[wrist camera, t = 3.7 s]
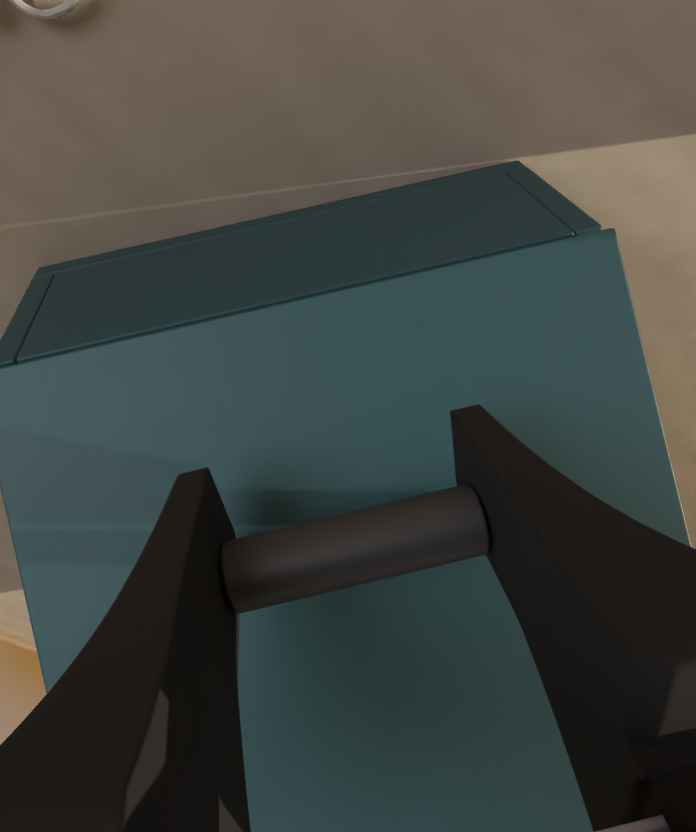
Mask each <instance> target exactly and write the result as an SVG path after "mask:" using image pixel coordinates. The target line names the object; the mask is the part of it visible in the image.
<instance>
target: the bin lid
mask: <svg viewBox="0 0 696 832" xmlns="http://www.w3.org/2000/svg"><path fill="white" fill-rule="evenodd" d="M477 404H479V405H481V406H483V407H484V408H485V409H486V410H487V411H488V412H489V413H490V414H492V415H493V416H494V417H495V418H496V419H497V420H498V421H499V422H500V423H501V424H502V425H504V426H505V427H506V428H507V429H508V430H509V431H510V432H511V433H513V434H514V435H515V436H516V437H517V438H518V439H520V440H521V441H522V442H523V443H524V444H526V445H527V446H528V447H529V448H530V449H532V450H533V451H534V452H535V453H537V454H538V455H539V456H540V457H542V458H543V459H544V460H546V461H547V462H548V463H549V464H551V465H552V466H553V467H554V468H556V469H557V470H559V471H560V472H561V473H563V474H564V475H565V476H567V477H568V478H570V479H571V480H572V481H574V482H575V483H577V484H578V485H580V486H581V487H582V488H584V489H585V490H587V491H588V492H590V493H591V494H593V495H594V496H596V497H598V498H599V499H601V500H602V501H604V502H605V503H607V504H609V505H610V506H612V507H614V508H616V509H617V510H619V511H621V512H622V513H624V514H626V515H627V516H629V517H631V518H633V519H635V520H637V521H638V522H640V523H642V524H644V525H646V526H648V527H650V528H652V529H654V530H656V531H658V532H660V533H662V534H664V535H666V536H668V537H671V538H673V539H675V540H677V541H679V542H681V543H683V544H685V545H687V546H690V547H692V546H691V541H690V537H689V533H688V529H687V525H686V521H685V517H684V513H683V508H682V504H681V500H680V496H679V492H678V488H677V484H676V480H675V475H674V471H673V467H672V463H671V459H670V455H669V451H668V447H667V443H666V438H665V434H664V430H663V426H662V422H661V418H660V414H659V410H658V405H657V401H656V397H655V393H654V389H653V385H652V381H651V377H650V372H649V368H648V364H647V360H646V356H645V352H644V348H643V344H642V340H641V335H640V331H639V327H638V323H637V319H636V315H635V311H634V307H633V302H632V298H631V294H630V290H629V286H628V282H627V278H626V274H625V269H624V265H623V261H622V257H621V253H620V249H619V245H618V241H617V236H616V232H615V229H613V228H610V229H606V230H601V231H597V232H593V233H588V234H584V235H580V236H575V237H571V238H566V239H562V240H558V241H553V242H549V243H544V244H540V245H536V246H531V247H527V248H523V249H518V250H514V251H509V252H505V253H501V254H496V255H492V256H488V257H483V258H479V259H474V260H470V261H466V262H461V263H457V264H452V265H448V266H444V267H439V268H435V269H431V270H426V271H422V272H417V273H413V274H409V275H404V276H400V277H395V278H391V279H387V280H382V281H378V282H374V283H369V284H365V285H360V286H356V287H352V288H347V289H343V290H339V291H334V292H330V293H325V294H321V295H317V296H312V297H308V298H303V299H299V300H295V301H290V302H286V303H282V304H277V305H273V306H268V307H264V308H260V309H255V310H251V311H246V312H242V313H238V314H233V315H229V316H225V317H220V318H216V319H211V320H207V321H203V322H198V323H194V324H189V325H185V326H181V327H176V328H172V329H168V330H163V331H159V332H154V333H150V334H146V335H141V336H137V337H133V338H128V339H124V340H119V341H115V342H111V343H106V344H102V345H97V346H93V347H89V348H84V349H80V350H76V351H71V352H67V353H62V354H58V355H54V356H49V357H45V358H40V359H36V360H32V361H27V362H23V363H19V364H14V365H10V366H5V367H1V368H0V486H1V490H2V495H3V499H4V504H5V508H6V513H7V517H8V522H9V526H10V531H11V535H12V540H13V544H14V549H15V553H16V558H17V562H18V567H19V571H20V576H21V580H22V585H23V589H24V594H25V598H26V603H27V607H28V612H29V616H30V621H31V625H32V630H33V634H34V639H35V643H36V648H37V652H38V656H39V661H40V666H41V670H42V675H43V679H44V683H45V687H46V693H48V692H49V691H50V690H51V689H52V687H53V686H54V685H55V684H56V682H57V681H58V680H59V679H60V677H61V676H62V675H63V673H64V672H65V671H66V670H67V668H68V667H69V666H70V664H71V663H72V662H73V660H74V659H75V658H76V656H77V655H78V654H79V652H80V651H81V650H82V648H83V647H84V646H85V644H86V643H87V642H88V640H89V639H90V637H91V636H92V634H93V633H94V632H95V630H96V629H97V627H98V626H99V624H100V623H101V621H102V620H103V618H104V617H105V615H106V614H107V612H108V610H109V609H110V607H111V606H112V604H113V602H114V601H115V599H116V597H117V596H118V594H119V592H120V591H121V589H122V587H123V585H124V584H125V582H126V580H127V578H128V576H129V575H130V573H131V571H132V569H133V568H134V566H135V564H136V562H137V560H138V558H139V557H140V555H141V553H142V551H143V549H144V547H145V545H146V543H147V541H148V539H149V537H150V535H151V533H152V531H153V529H154V526H155V524H156V522H157V520H158V518H159V516H160V514H161V511H162V509H163V507H164V505H165V502H166V500H167V498H168V496H169V493H170V491H171V489H172V486H173V484H174V482H175V479H176V478H177V476H178V475H179V474H181V473H186V472H190V471H194V470H198V469H203V468H207V467H208V468H209V470H210V473H211V475H212V478H213V480H214V482H215V485H216V487H217V490H218V492H219V494H220V497H221V499H222V502H223V504H224V507H225V509H226V511H227V514H228V516H229V519H230V521H231V523H232V526H233V528H234V531H235V533H236V539H231V540H227V541H225V542H224V543H222V545H221V550H220V567H221V575H222V581H223V585H224V589H225V593H226V596H227V599H228V602H229V604H230V606H231V608H232V609H233V611H234V612H235V613H240V622H239V665H238V692H239V710H240V723H241V736H242V748H243V759H244V770H245V780H246V791H247V801H248V810H249V819H250V828H251V832H593V829H592V825H591V822H590V819H589V816H588V813H587V810H586V807H585V804H584V801H583V798H582V795H581V792H580V789H579V786H578V783H577V780H576V777H575V774H574V771H573V768H572V765H571V762H570V760H569V757H568V754H567V751H566V748H565V745H564V742H563V739H562V736H561V734H560V731H559V728H558V725H557V722H556V719H555V716H554V714H553V711H552V708H551V705H550V703H549V700H548V697H547V694H546V692H545V689H544V686H543V683H542V681H541V678H540V675H539V672H538V670H537V667H536V664H535V662H534V659H533V656H532V654H531V651H530V649H529V646H528V643H527V641H526V638H525V635H524V633H523V630H522V628H521V626H520V623H519V621H518V619H517V617H516V614H515V612H514V610H513V608H512V606H511V604H510V602H509V600H508V598H507V596H506V594H505V592H504V590H503V588H502V586H501V584H500V582H499V580H498V578H497V576H496V574H495V572H494V570H493V568H492V566H491V564H490V562H489V560H488V558H487V556H486V554H487V553H489V551H490V534H489V528H488V524H487V520H486V516H485V512H484V509H483V506H482V503H481V501H480V498H479V496H478V494H477V492H476V490H475V489H474V488H473V486H472V485H470V484H464V485H460V486H457V483H456V475H455V463H454V451H453V440H452V428H451V416H450V411H452V410H456V409H460V408H465V407H469V406H473V405H477Z"/></svg>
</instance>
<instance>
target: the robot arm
mask: <svg viewBox="0 0 696 832" xmlns="http://www.w3.org/2000/svg"><path fill="white" fill-rule="evenodd" d="M450 416H451V428H452V440H453V451H454V463H455V475H456V483H457V486H460V485H464V484H470V485H472V486H473V488H474V489H475V490H476V492H477V494H478V496H479V498H480V501H481V503H482V506H483V509H484V512H485V516H486V520H487V524H488V528H489V534H490V551H489V553H487V554H486V556H487V558H488V560H489V562H490V564H491V566H492V568H493V570H494V572H495V574H496V576H497V578H498V580H499V582H500V584H501V586H502V588H503V590H504V592H505V594H506V596H507V598H508V600H509V602H510V604H511V606H512V608H513V610H514V612H515V614H516V617H517V619H518V621H519V623H520V626H521V628H522V630H523V633H524V635H525V638H526V641H527V643H528V646H529V649H530V651H531V654H532V656H533V659H534V662H535V664H536V667H537V670H538V672H539V675H540V678H541V681H542V683H543V686H544V689H545V692H546V694H547V697H548V700H549V703H550V705H551V708H552V711H553V714H554V716H555V719H556V722H557V725H558V728H559V731H560V734H561V736H562V739H563V742H564V745H565V748H566V751H567V754H568V757H569V760H570V762H571V765H572V768H573V771H574V774H575V777H576V780H577V783H578V786H579V789H580V792H581V795H582V798H583V801H584V804H585V807H586V810H587V813H588V816H589V819H590V822H591V825H592V829H593V832H696V549H694V548H692V547H690V546H687V545H685V544H683V543H681V542H679V541H677V540H675V539H673V538H671V537H668V536H666V535H664V534H662V533H660V532H658V531H656V530H654V529H652V528H650V527H648V526H646V525H644V524H642V523H640V522H638V521H637V520H635V519H633V518H631V517H629V516H627V515H626V514H624V513H622V512H621V511H619V510H617V509H616V508H614V507H612V506H610V505H609V504H607V503H605V502H604V501H602V500H601V499H599V498H598V497H596V496H594V495H593V494H591V493H590V492H588V491H587V490H585V489H584V488H582V487H581V486H580V485H578V484H577V483H575V482H574V481H572V480H571V479H570V478H568V477H567V476H565V475H564V474H563V473H561V472H560V471H559V470H557V469H556V468H554V467H553V466H552V465H551V464H549V463H548V462H547V461H546V460H544V459H543V458H542V457H540V456H539V455H538V454H537V453H535V452H534V451H533V450H532V449H530V448H529V447H528V446H527V445H526V444H524V443H523V442H522V441H521V440H520V439H518V438H517V437H516V436H515V435H514V434H513V433H511V432H510V431H509V430H508V429H507V428H506V427H505V426H504V425H502V424H501V423H500V422H499V421H498V420H497V419H496V418H495V417H494V416H493V415H492V414H490V413H489V412H488V411H487V410H486V409H485V408H484V407H483V406H481V405H479V404H477V405H473V406H469V407H465V408H460V409H456V410H452V411H450ZM231 539H236V533H235V531H234V528H233V526H232V523H231V521H230V519H229V516H228V514H227V511H226V509H225V507H224V504H223V502H222V499H221V497H220V494H219V492H218V490H217V487H216V485H215V482H214V480H213V478H212V475H211V473H210V470H209V468H208V467H207V468H203V469H198V470H194V471H190V472H186V473H181V474H179V475H178V476H177V478H176V479H175V482H174V484H173V486H172V489H171V491H170V493H169V496H168V498H167V500H166V502H165V505H164V507H163V509H162V511H161V514H160V516H159V518H158V520H157V522H156V524H155V526H154V529H153V531H152V533H151V535H150V537H149V539H148V541H147V543H146V545H145V547H144V549H143V551H142V553H141V555H140V557H139V558H138V560H137V562H136V564H135V566H134V568H133V569H132V571H131V573H130V575H129V576H128V578H127V580H126V582H125V584H124V585H123V587H122V589H121V591H120V592H119V594H118V596H117V597H116V599H115V601H114V602H113V604H112V606H111V607H110V609H109V610H108V612H107V614H106V615H105V617H104V618H103V620H102V621H101V623H100V624H99V626H98V627H97V629H96V630H95V632H94V633H93V634H92V636H91V637H90V639H89V640H88V642H87V643H86V644H85V646H84V647H83V648H82V650H81V651H80V652H79V654H78V655H77V656H76V658H75V659H74V660H73V662H72V663H71V664H70V666H69V667H68V668H67V670H66V671H65V672H64V673H63V675H62V676H61V677H60V679H59V680H58V681H57V682H56V684H55V685H54V686H53V687H52V689H51V690H50V691H49V692H48V693H47V695H46V696H45V697H44V698H43V699H42V701H40V703H39V704H38V705H37V706H36V707H35V708H34V709H33V711H32V712H31V713H30V714H29V715H28V716H27V717H26V718H25V719H24V721H23V722H22V723H21V724H20V725H19V726H18V727H17V728H16V729H15V730H14V732H13V733H12V734H11V735H10V736H9V737H8V738H7V739H6V740H5V741H4V742H3V743H2V744H1V745H0V832H251V828H250V819H249V810H248V801H247V791H246V780H245V770H244V759H243V748H242V736H241V723H240V710H239V692H238V665H239V622H240V613H235V612H234V611H233V609H232V608H231V606H230V604H229V602H228V599H227V596H226V593H225V589H224V585H223V581H222V575H221V567H220V550H221V545H222V543H224V542H225V541H227V540H231Z"/></svg>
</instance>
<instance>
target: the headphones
mask: <svg viewBox="0 0 696 832" xmlns="http://www.w3.org/2000/svg"><path fill="white" fill-rule="evenodd" d="M9 1H10V2H11V3H13V4H14V5H15V6H16V7H17V8H18V9H19V10H20V11H22V12H24V13H25V14H27V15H29V16H31V17H33V18H37V19H42V20H50V19H54V18H58V17H61V16H63V15H65V14H67V13H69V12H70V11H71V10H72V9H73V8H74V7H75V6H76V5H77V4H78V0H66V1H64V2H63V3H62V4H60V5H59V6H56V7H54V8H51V9H43V10H40V9H37V8H34V7H31V6H29V5H28V4H26V3H24V2H23V1H22V0H9Z"/></svg>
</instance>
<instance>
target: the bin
mask: <svg viewBox="0 0 696 832" xmlns="http://www.w3.org/2000/svg"><path fill="white" fill-rule="evenodd" d="M601 230H602V227H601V225H600V224H599V223H598V222H596V221H595V220H594V219H592V218H591V217H590V216H589V215H587V214H586V213H585V212H584V211H582V210H581V209H580V208H578V207H577V206H576V205H575V204H573V203H572V202H571V201H570V200H568V199H567V198H566V197H564V196H563V195H562V194H561V193H559V192H558V191H557V190H555V189H554V188H553V187H552V186H550V185H549V184H548V183H547V182H545V181H544V180H543V179H541V178H540V177H539V176H538V175H536V174H535V173H534V172H533V171H531V170H530V169H529V168H527V167H525V165H523V164H522V163H521V162H520V161H513V162H509V163H504V164H500V165H495V166H491V167H486V168H482V169H477V170H473V171H469V172H464V173H460V174H455V175H451V176H446V177H442V178H437V179H433V180H429V181H424V182H420V183H415V184H411V185H406V186H402V187H397V188H393V189H388V190H384V191H380V192H375V193H371V194H366V195H362V196H357V197H353V198H348V199H344V200H340V201H335V202H331V203H326V204H322V205H317V206H313V207H308V208H304V209H300V210H295V211H291V212H286V213H282V214H277V215H273V216H268V217H264V218H260V219H255V220H251V221H246V222H242V223H237V224H233V225H228V226H224V227H219V228H215V229H211V230H206V231H202V232H197V233H193V234H188V235H184V236H179V237H175V238H171V239H166V240H162V241H157V242H153V243H148V244H144V245H139V246H135V247H131V248H126V249H122V250H117V251H113V252H108V253H104V254H99V255H95V256H91V257H86V258H82V259H77V260H73V261H68V262H64V263H59V264H55V265H51V266H46V267H42V268H39V269H38V270H37V272H36V274H35V276H34V278H33V279H32V281H31V283H30V285H29V287H28V289H27V291H26V293H25V295H24V296H23V298H22V300H21V302H20V304H19V306H18V308H17V310H16V312H15V314H14V316H13V317H12V319H11V321H10V323H9V325H8V327H7V329H6V331H5V333H4V335H3V337H2V338H1V340H0V368H1V367H5V366H10V365H14V364H19V363H23V362H27V361H32V360H36V359H40V358H45V357H49V356H54V355H58V354H62V353H67V352H71V351H76V350H80V349H84V348H89V347H93V346H97V345H102V344H106V343H111V342H115V341H119V340H124V339H128V338H133V337H137V336H141V335H146V334H150V333H154V332H159V331H163V330H168V329H172V328H176V327H181V326H185V325H189V324H194V323H198V322H203V321H207V320H211V319H216V318H220V317H225V316H229V315H233V314H238V313H242V312H246V311H251V310H255V309H260V308H264V307H268V306H273V305H277V304H282V303H286V302H290V301H295V300H299V299H303V298H308V297H312V296H317V295H321V294H325V293H330V292H334V291H339V290H343V289H347V288H352V287H356V286H360V285H365V284H369V283H374V282H378V281H382V280H387V279H391V278H395V277H400V276H404V275H409V274H413V273H417V272H422V271H426V270H431V269H435V268H439V267H444V266H448V265H452V264H457V263H461V262H466V261H470V260H474V259H479V258H483V257H488V256H492V255H496V254H501V253H505V252H509V251H514V250H518V249H523V248H527V247H531V246H536V245H540V244H544V243H549V242H553V241H558V240H562V239H566V238H571V237H575V236H580V235H584V234H588V233H593V232H597V231H601Z"/></svg>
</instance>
